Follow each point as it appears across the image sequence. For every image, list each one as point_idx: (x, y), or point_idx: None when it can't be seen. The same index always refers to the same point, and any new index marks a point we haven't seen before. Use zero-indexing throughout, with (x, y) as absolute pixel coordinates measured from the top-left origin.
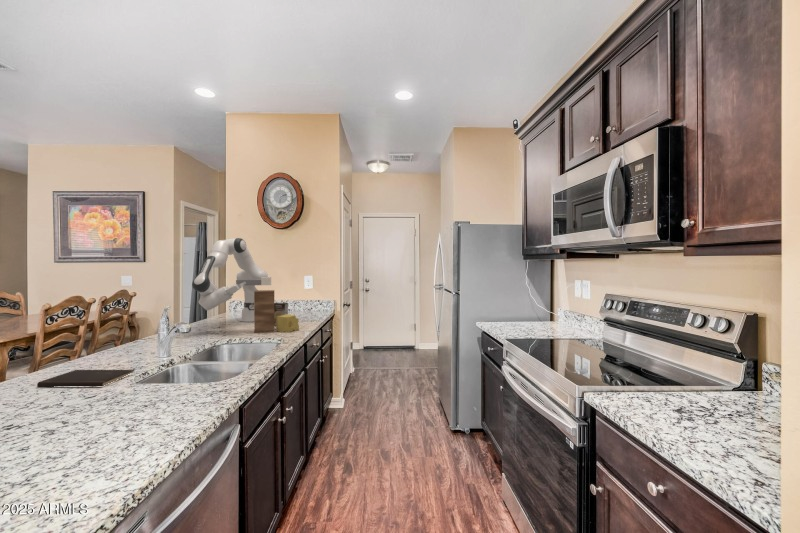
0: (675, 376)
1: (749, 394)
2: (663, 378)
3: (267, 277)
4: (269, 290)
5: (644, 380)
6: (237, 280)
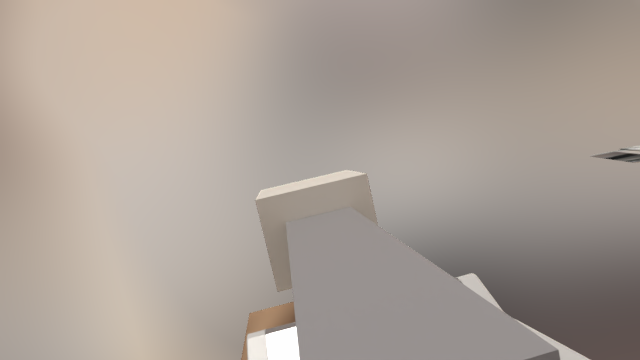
0: (600, 157)
1: (634, 147)
2: (613, 157)
3: (352, 171)
4: (294, 319)
5: (630, 157)
6: (523, 340)
